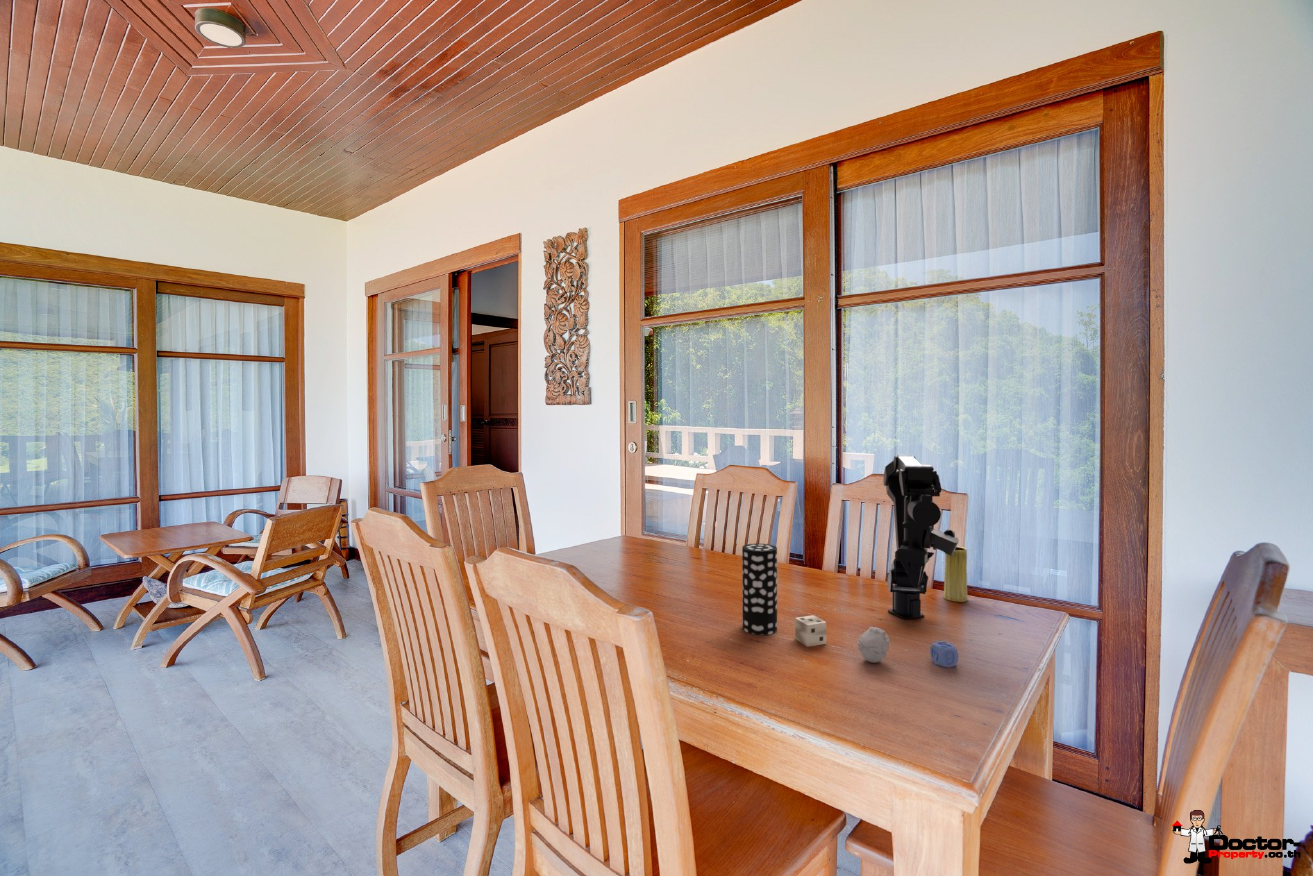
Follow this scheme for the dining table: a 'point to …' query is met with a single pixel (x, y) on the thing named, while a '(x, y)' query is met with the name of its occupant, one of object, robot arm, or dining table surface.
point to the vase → (956, 576)
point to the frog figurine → (874, 644)
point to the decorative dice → (944, 654)
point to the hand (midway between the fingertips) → (916, 584)
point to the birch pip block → (810, 630)
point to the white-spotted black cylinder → (759, 588)
